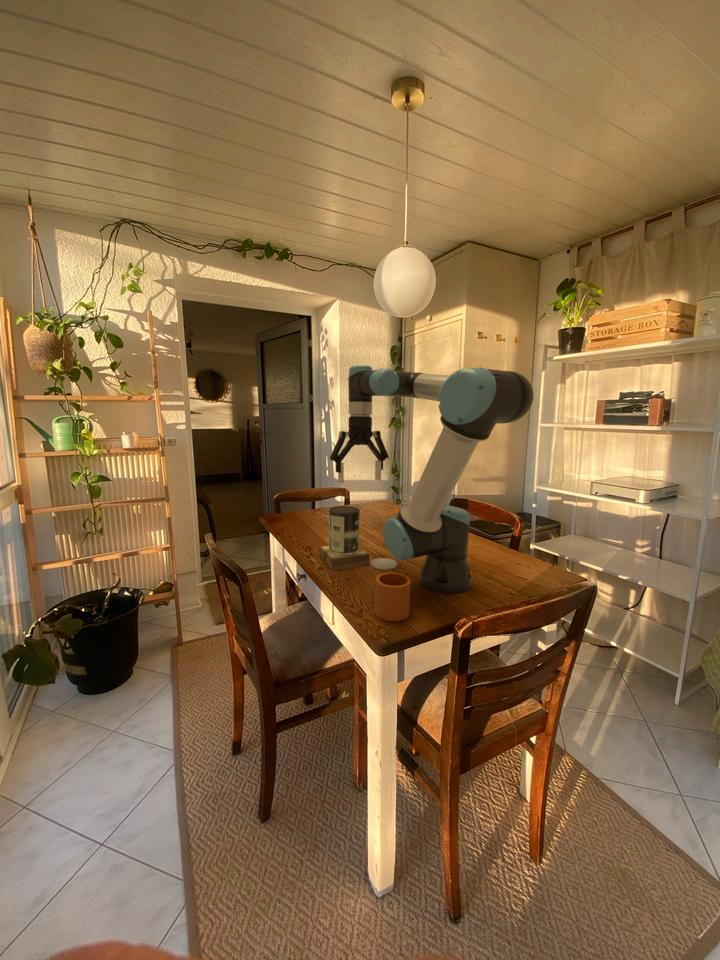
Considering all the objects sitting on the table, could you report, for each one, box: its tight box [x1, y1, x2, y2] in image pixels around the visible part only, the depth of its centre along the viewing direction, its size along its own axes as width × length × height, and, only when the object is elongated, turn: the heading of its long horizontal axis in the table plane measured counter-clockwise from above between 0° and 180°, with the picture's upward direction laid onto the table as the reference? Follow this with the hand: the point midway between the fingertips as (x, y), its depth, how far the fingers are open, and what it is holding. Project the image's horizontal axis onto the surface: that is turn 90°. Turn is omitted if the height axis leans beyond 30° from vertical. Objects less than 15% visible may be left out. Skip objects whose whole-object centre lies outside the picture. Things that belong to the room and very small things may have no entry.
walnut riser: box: [319, 545, 371, 571], centre depth 135 cm, size 13×13×4 cm
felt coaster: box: [369, 557, 398, 571], centre depth 132 cm, size 9×9×1 cm
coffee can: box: [328, 505, 361, 555], centre depth 133 cm, size 10×10×14 cm
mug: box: [373, 571, 412, 622], centre depth 102 cm, size 9×12×9 cm
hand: (359, 481), depth 131 cm, fingers open, 13 cm apart
